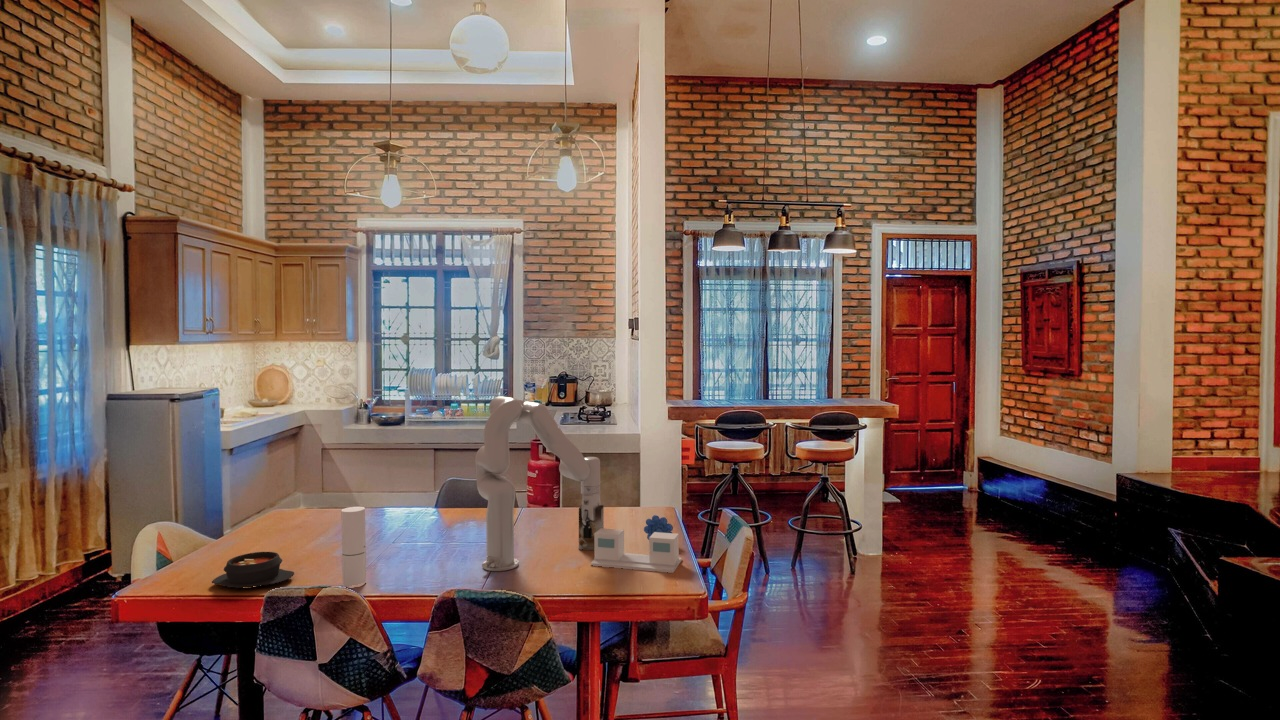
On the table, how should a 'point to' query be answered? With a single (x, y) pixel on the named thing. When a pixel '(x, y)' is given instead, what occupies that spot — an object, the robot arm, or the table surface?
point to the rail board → (613, 555)
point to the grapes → (657, 526)
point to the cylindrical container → (353, 546)
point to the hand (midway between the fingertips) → (591, 534)
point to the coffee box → (595, 525)
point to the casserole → (253, 570)
